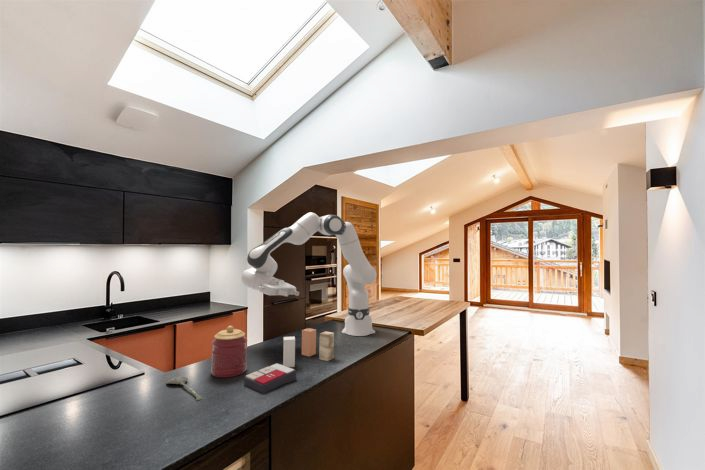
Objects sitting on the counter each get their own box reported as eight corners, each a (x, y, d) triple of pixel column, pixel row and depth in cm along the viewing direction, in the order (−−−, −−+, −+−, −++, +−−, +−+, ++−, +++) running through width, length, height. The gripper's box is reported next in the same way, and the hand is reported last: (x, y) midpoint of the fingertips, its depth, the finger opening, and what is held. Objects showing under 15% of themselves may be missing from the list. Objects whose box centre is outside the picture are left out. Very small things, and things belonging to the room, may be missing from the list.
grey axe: (183, 380, 122) (163, 386, 117) (183, 371, 122) (163, 377, 117) (209, 397, 107) (188, 405, 102) (208, 387, 107) (187, 394, 102)
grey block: (283, 363, 137) (283, 336, 138) (294, 362, 138) (294, 336, 139) (283, 367, 133) (283, 340, 133) (294, 366, 134) (295, 339, 134)
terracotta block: (308, 352, 153) (308, 328, 153) (315, 353, 150) (316, 329, 151) (301, 354, 149) (302, 330, 149) (309, 356, 146) (309, 331, 147)
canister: (235, 380, 120) (236, 331, 121) (203, 376, 123) (204, 328, 124) (252, 367, 133) (253, 323, 134) (223, 364, 136) (224, 321, 136)
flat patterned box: (243, 375, 117) (276, 361, 129) (243, 387, 117) (277, 372, 129) (262, 383, 110) (296, 368, 122) (263, 396, 110) (296, 379, 122)
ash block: (325, 356, 147) (325, 331, 148) (333, 358, 145) (334, 332, 145) (319, 359, 144) (319, 333, 144) (327, 361, 141) (327, 335, 141)
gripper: (258, 279, 150) (282, 288, 145) (283, 279, 169) (306, 287, 164) (254, 292, 150) (278, 302, 145) (280, 291, 169) (302, 300, 163)
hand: (293, 294), depth 154 cm, fingers open, 8 cm apart
